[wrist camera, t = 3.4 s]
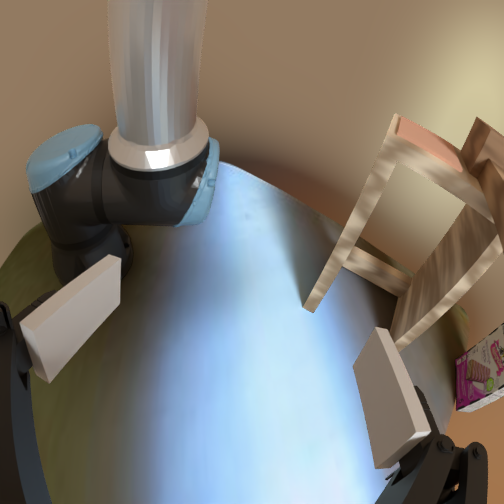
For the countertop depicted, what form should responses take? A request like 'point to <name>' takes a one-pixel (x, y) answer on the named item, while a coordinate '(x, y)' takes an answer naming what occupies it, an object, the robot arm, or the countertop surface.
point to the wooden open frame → (443, 257)
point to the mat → (428, 142)
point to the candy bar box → (481, 373)
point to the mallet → (487, 168)
